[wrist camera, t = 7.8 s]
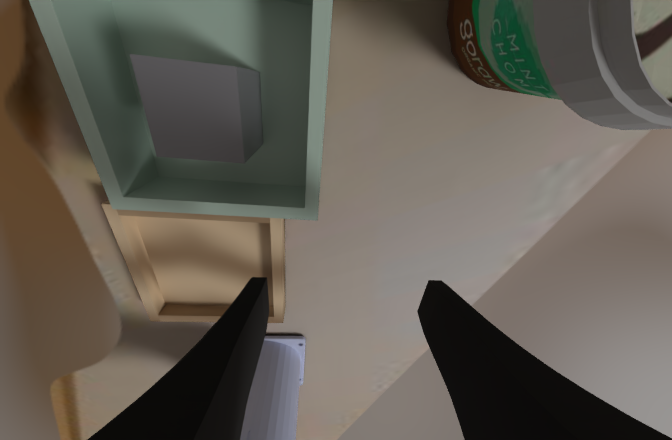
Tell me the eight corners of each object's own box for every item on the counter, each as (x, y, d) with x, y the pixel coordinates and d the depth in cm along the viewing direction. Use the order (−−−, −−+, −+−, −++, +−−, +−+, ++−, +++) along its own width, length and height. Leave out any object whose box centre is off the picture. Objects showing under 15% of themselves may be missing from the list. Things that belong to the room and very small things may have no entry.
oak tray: (285, 307, 24) (283, 322, 22) (162, 305, 23) (150, 321, 21) (284, 203, 18) (281, 214, 17) (120, 193, 17) (101, 203, 16)
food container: (378, 31, 14) (485, -66, 5) (457, -110, 11) (954, -812, 2) (513, 145, 17) (710, 207, 9) (594, 58, 15) (983, 22, 6)
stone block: (263, 143, 16) (244, 163, 12) (198, 138, 15) (156, 156, 11) (260, 71, 14) (236, 66, 10) (185, 63, 13) (129, 53, 9)
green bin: (317, 194, 18) (317, 220, 15) (154, 183, 17) (112, 209, 14) (331, -9, 13) (336, -45, 9) (88, -46, 11) (-13, -104, 8)
